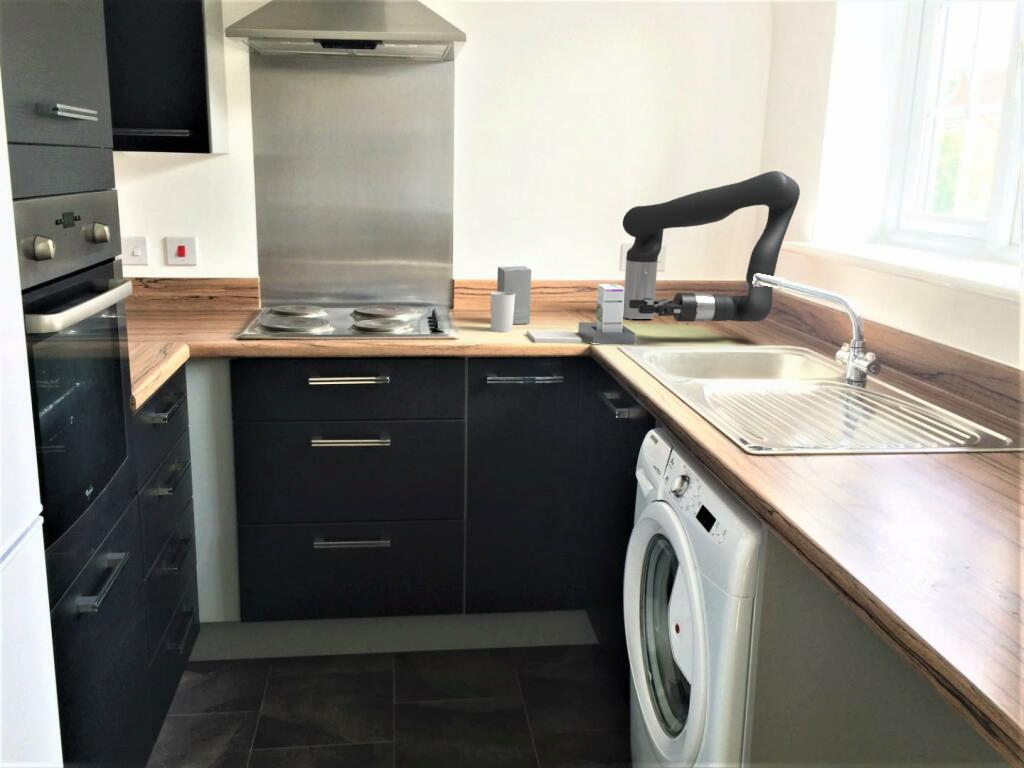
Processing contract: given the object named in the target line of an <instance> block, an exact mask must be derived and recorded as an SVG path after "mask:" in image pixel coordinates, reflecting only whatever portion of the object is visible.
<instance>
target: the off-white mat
mask: <svg viewBox="0 0 1024 768" xmlns="http://www.w3.org/2000/svg"><path fill="white" fill-rule="evenodd" d="M526 335H527V336H528V338H530V339H531V340H532V341H533V342H534V343H536V344H537V343H540V344H541V343H542V344H543V343H546V344H548V343H549V344H553V343H554V344H557V343H558V344H560V343H561V344H562V343H563V344H565V343H567V344H581V343H582V338H581V337H580V336H579V335H578V334H576V333H575V332H573V331H572V330H550V329H548V330H545V329H544V330H543V329H542V330H541V329H537V330H536V329H526Z"/></svg>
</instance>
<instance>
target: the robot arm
mask: <svg viewBox="0 0 1024 768" xmlns="http://www.w3.org/2000/svg"><path fill="white" fill-rule="evenodd" d="M800 193H801V190H800V186H799V184H798V182H796V181H795V180H794V179H793V178H792V177H790V176H789V175H787V174H786V173H784V172H782V171H777V170H771V171H770V170H769V171H767V172H764V173H761V174H758V175H756V176H754V177H750V178H747V179H745V180H742V181H739V182H735V183H730V184H726V185H721V186H717V187H714V188H708V189H705V190H699V191H696V192H693V193H690V194H685V195H682V196H680V197H677V198H674V199H671V200H669V201H665V202H661V203H655V204H648V205H647V204H646V205H637V206H634V207H631V208H630V209H629V210H628V211H626V212H625V215H624V216H623V219H622V227H623V230H624V231H625V232H626V234H627V235H629V236H631V237H632V238H634V242H633V244H632V246H631V247H630V248H629V249H628V250H627V251H626V259H625V273H624V276H625V277H624V286H623V287H624V308H623V317H624V318H623V319H626V318H628V319H627V320H632V319H651V318H653V319H654V316H658V317H665V316H666V317H673V319H674V320H675V321H676V322H680V323H683V322H685V323H686V322H689V323H690V322H691V323H693V322H694V323H695V322H696V323H700V322H701V323H703V322H704V323H705V322H725V321H726V322H727V321H733V322H747V323H749V322H752V323H753V322H761V321H764V320H765V319H766V318H767V317H768V316H769V314H770V313H771V310H772V305H773V292H774V291H773V286H772V287H768V286H763V287H760V288H754V287H753V284H752V281H753V276H754V274H756V273H761V274H766V275H771V276H774V277H775V273H776V269H777V264H778V259H779V256H780V255H779V254H780V251H781V248H782V245H783V242H784V239H785V235H786V233H787V230H788V228H789V226H790V223H791V220H792V217H793V215H794V212H795V209H796V208H797V205H798V202H799V198H800ZM754 206H767V207H768V213H767V220H766V225H765V227H764V230H763V231H762V233H761V235H760V237H759V239H757V242H756V244H755V245H754V247H753V249H752V251H751V255H750V257H749V262H748V265H747V271H746V277H745V281H746V283H747V284H748V285H749V286H748V293H747V294H748V295H728V294H716V293H714V294H713V293H703V292H676V293H675V295H674V297H673V300H672V299H669V298H656V288H657V287H656V285H657V282H656V281H657V271H658V259H659V255H660V253H661V250H662V244H663V237H664V230H666V229H672V228H673V229H675V228H676V229H677V228H689V227H698V226H704V225H709V224H712V223H717V222H720V221H722V220H725V219H727V218H728V217H729V216H731V215H732V214H733V213H735V212H736V211H738V210H741V209H744V208H749V207H754Z"/></svg>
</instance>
